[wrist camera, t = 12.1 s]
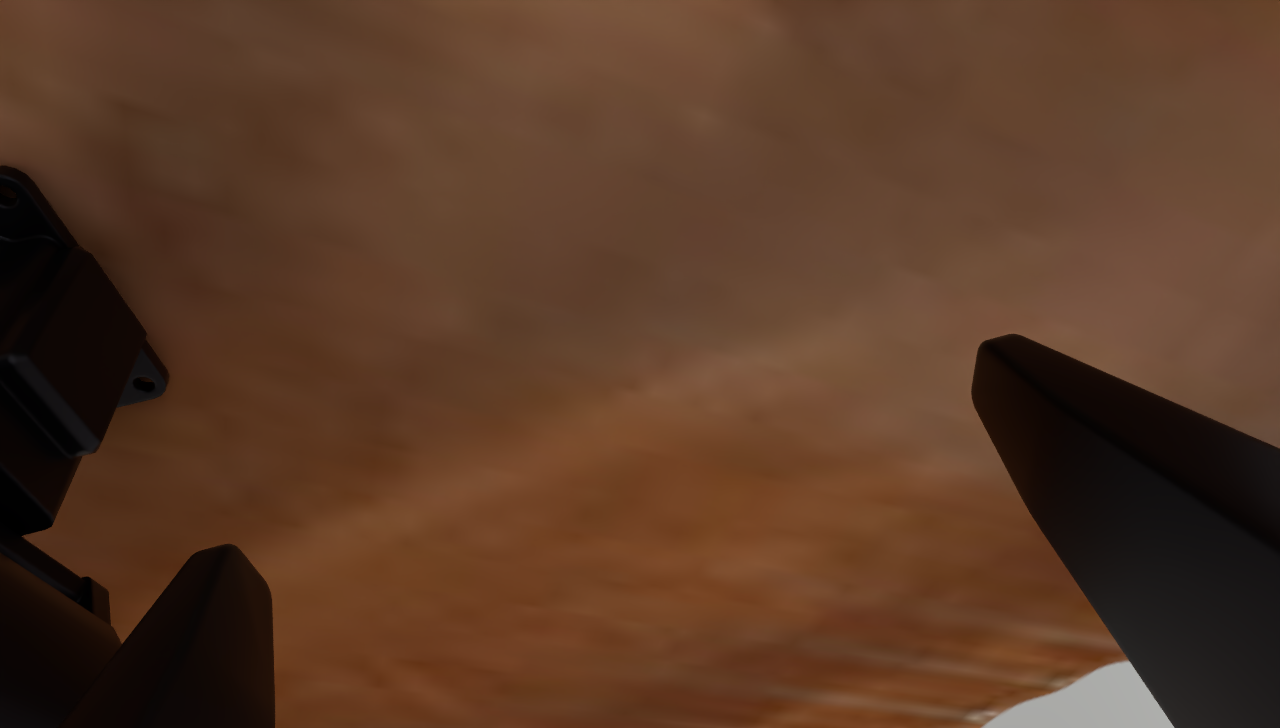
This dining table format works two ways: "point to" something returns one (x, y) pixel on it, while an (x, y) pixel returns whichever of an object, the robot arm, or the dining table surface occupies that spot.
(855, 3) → the dining table surface
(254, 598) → the robot arm
